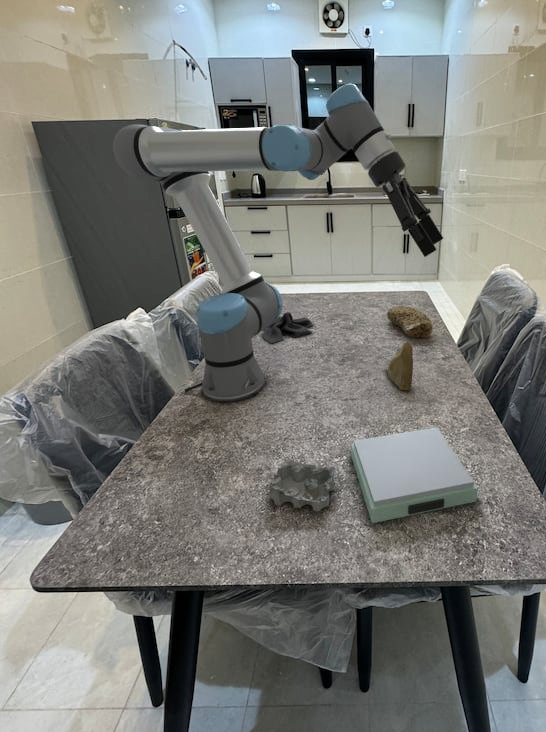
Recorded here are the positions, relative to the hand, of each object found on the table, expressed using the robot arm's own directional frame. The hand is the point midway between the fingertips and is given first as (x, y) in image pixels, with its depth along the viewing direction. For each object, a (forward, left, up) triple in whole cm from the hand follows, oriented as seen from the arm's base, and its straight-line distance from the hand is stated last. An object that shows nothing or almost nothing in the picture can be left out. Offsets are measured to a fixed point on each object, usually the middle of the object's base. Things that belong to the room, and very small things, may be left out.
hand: (434, 247), depth 84 cm
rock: (-6, +4, -35) cm, 36 cm away
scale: (-15, -29, -35) cm, 48 cm away
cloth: (-33, +47, -35) cm, 68 cm away
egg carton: (-34, -28, -35) cm, 56 cm away
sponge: (+9, +37, -35) cm, 52 cm away
